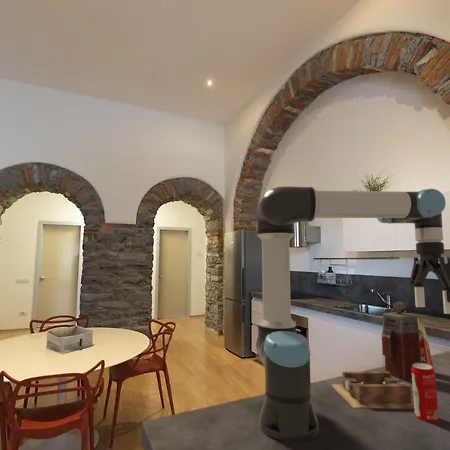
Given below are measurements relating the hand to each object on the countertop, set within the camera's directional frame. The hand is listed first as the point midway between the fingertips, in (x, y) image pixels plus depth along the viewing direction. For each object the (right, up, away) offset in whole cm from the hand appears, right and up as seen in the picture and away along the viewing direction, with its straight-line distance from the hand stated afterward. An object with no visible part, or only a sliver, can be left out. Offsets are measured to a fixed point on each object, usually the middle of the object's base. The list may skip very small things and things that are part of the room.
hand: (434, 310), depth 101 cm
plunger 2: (-11, -27, +5) cm, 29 cm away
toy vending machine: (+3, -32, +25) cm, 41 cm away
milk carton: (+14, -33, +31) cm, 47 cm away
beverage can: (-9, -28, -11) cm, 32 cm away
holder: (-16, -30, +4) cm, 34 cm away
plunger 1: (-22, -27, +4) cm, 35 cm away
